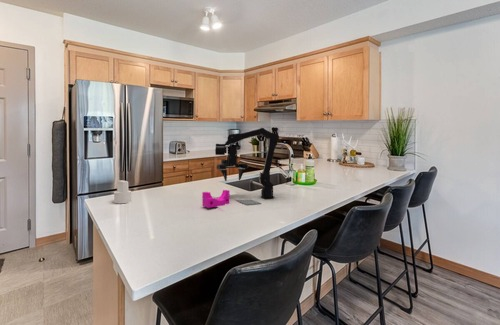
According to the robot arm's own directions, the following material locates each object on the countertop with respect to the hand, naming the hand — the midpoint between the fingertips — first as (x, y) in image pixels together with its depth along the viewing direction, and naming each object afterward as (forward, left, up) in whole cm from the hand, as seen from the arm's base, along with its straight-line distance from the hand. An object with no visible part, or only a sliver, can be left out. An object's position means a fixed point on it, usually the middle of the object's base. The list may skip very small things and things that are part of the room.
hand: (232, 180), depth 162 cm
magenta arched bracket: (+14, +11, -12) cm, 21 cm away
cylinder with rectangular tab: (+59, -21, -12) cm, 64 cm away
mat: (-4, +11, -12) cm, 16 cm away
